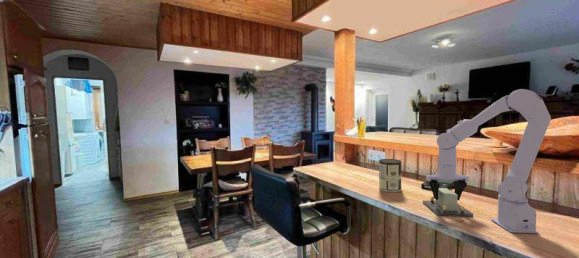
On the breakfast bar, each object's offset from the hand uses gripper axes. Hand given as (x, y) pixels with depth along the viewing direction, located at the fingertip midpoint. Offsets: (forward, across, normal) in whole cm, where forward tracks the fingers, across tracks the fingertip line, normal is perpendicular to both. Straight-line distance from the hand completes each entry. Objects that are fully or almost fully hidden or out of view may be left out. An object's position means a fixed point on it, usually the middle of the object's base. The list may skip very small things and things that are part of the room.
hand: (446, 199), depth 97 cm
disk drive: (+5, -10, -29) cm, 31 cm away
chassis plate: (+4, 0, 0) cm, 4 cm away
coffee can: (+4, +14, -25) cm, 29 cm away
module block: (+3, 0, 0) cm, 3 cm away
